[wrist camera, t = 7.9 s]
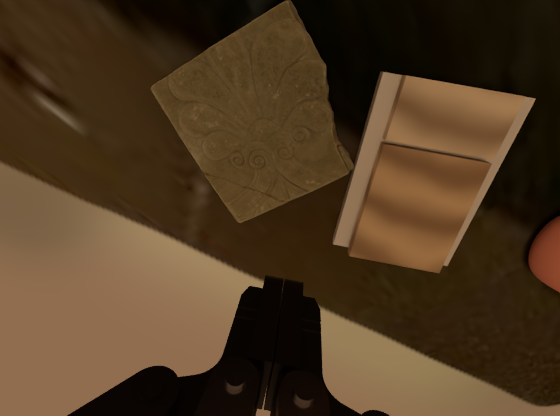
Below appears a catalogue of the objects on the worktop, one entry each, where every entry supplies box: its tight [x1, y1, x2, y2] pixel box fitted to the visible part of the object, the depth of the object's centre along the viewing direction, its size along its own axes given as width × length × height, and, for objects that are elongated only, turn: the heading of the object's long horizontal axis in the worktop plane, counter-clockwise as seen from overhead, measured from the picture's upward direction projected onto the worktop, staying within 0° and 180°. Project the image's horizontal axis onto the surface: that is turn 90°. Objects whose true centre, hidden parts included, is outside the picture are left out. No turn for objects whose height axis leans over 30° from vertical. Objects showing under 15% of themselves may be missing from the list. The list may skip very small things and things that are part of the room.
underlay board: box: [333, 72, 535, 266], centre depth 35 cm, size 22×16×2 cm
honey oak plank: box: [348, 142, 492, 273], centre depth 35 cm, size 15×12×2 cm
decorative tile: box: [151, 0, 354, 223], centre depth 34 cm, size 19×20×4 cm
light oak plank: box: [382, 75, 526, 160], centre depth 31 cm, size 7×12×2 cm, turn 81°
